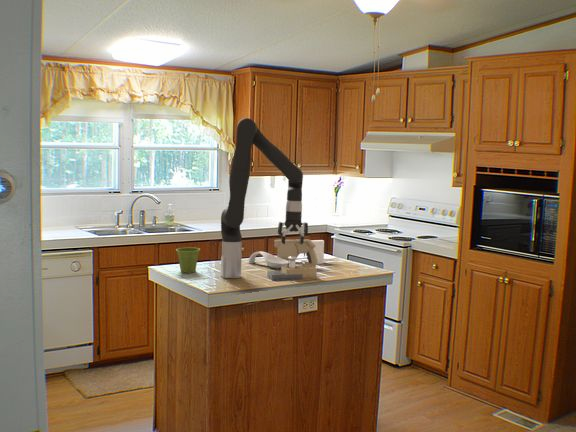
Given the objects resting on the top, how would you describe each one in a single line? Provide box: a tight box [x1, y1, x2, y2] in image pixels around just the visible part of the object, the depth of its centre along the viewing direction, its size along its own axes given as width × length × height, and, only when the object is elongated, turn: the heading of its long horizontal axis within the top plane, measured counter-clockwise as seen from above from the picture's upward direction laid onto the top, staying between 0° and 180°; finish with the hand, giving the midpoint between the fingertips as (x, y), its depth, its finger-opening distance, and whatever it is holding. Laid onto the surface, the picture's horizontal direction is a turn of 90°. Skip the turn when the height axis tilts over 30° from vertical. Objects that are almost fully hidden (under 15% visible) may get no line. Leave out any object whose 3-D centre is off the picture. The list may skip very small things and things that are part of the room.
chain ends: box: [266, 265, 318, 281], centre depth 286 cm, size 22×9×5 cm, turn 106°
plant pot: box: [175, 247, 201, 274], centre depth 294 cm, size 12×12×11 cm
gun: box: [273, 239, 318, 268], centre depth 315 cm, size 24×3×15 cm, turn 59°
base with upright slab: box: [306, 239, 325, 265], centre depth 327 cm, size 9×9×12 cm
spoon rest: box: [248, 251, 289, 269], centre depth 314 cm, size 24×12×7 cm, turn 56°
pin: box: [288, 256, 297, 268], centre depth 286 cm, size 4×4×10 cm
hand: (292, 244), depth 284 cm, fingers open, 8 cm apart
